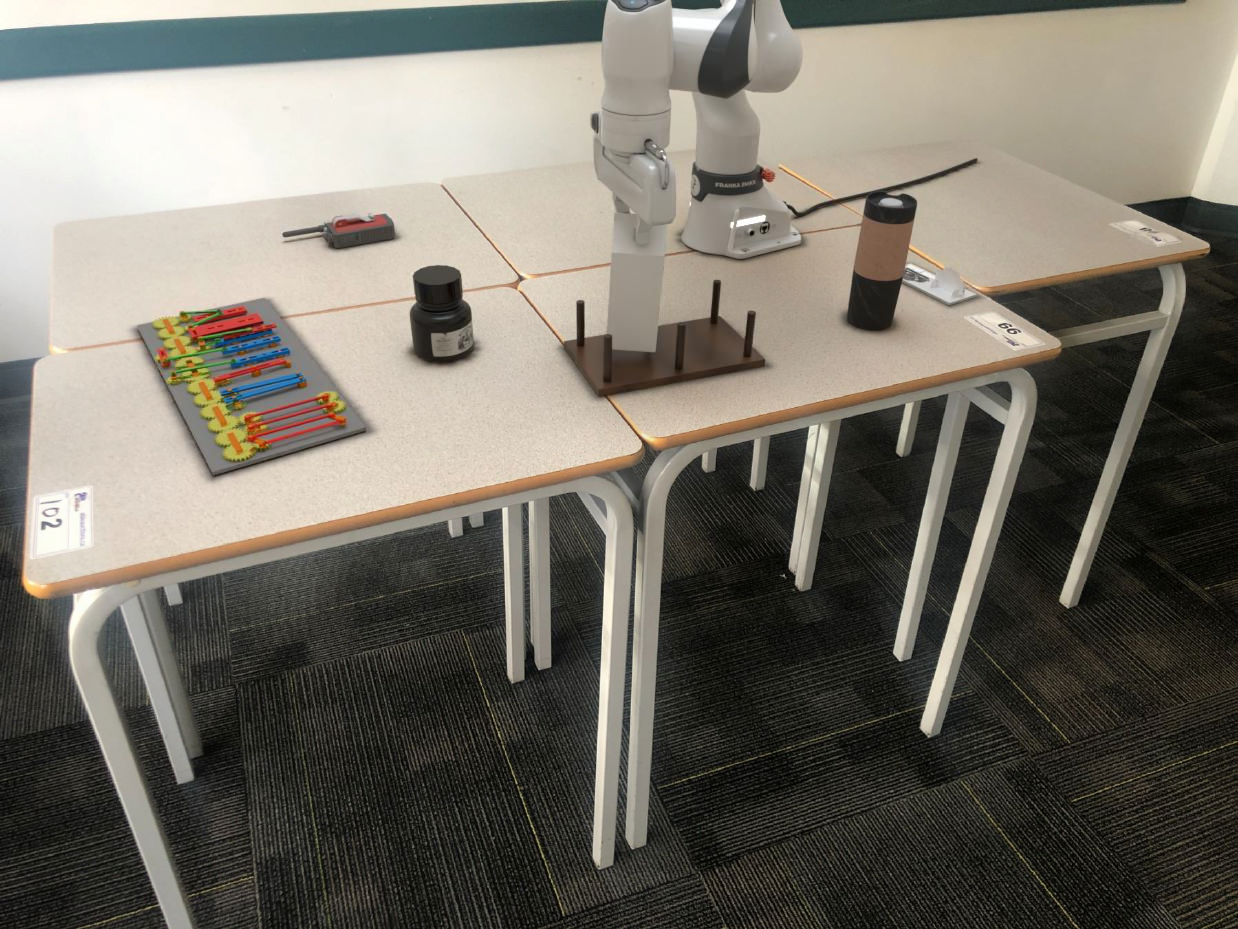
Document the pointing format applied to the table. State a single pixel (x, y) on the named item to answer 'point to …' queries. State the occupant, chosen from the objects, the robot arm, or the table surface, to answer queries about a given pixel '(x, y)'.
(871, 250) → the travel mug
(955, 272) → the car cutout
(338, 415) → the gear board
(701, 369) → the peg rack
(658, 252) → the milk carton
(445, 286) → the ink bottle
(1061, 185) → the table surface
